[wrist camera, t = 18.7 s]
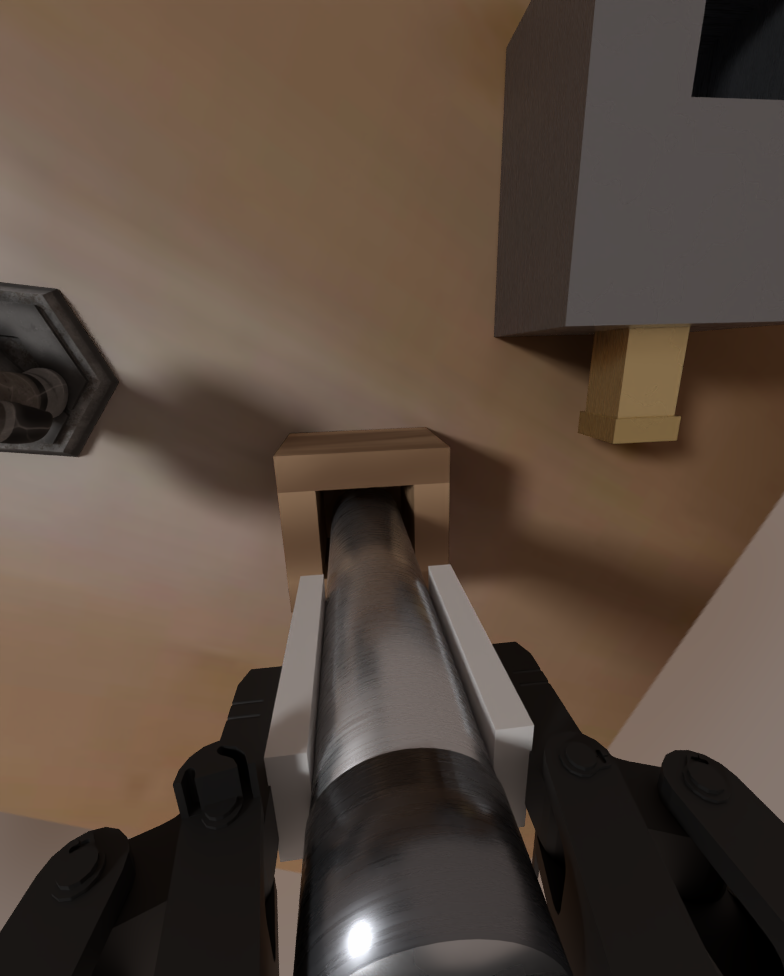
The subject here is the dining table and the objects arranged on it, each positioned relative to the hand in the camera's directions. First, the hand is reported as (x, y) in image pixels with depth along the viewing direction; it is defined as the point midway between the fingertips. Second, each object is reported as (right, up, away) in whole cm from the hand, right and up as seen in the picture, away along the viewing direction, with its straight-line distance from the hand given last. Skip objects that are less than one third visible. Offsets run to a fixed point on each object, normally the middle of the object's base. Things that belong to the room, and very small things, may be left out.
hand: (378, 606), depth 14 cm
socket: (+12, +19, +8) cm, 24 cm away
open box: (-1, +4, +11) cm, 12 cm away
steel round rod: (-1, +3, +8) cm, 9 cm away
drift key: (+13, +12, +8) cm, 19 cm away
